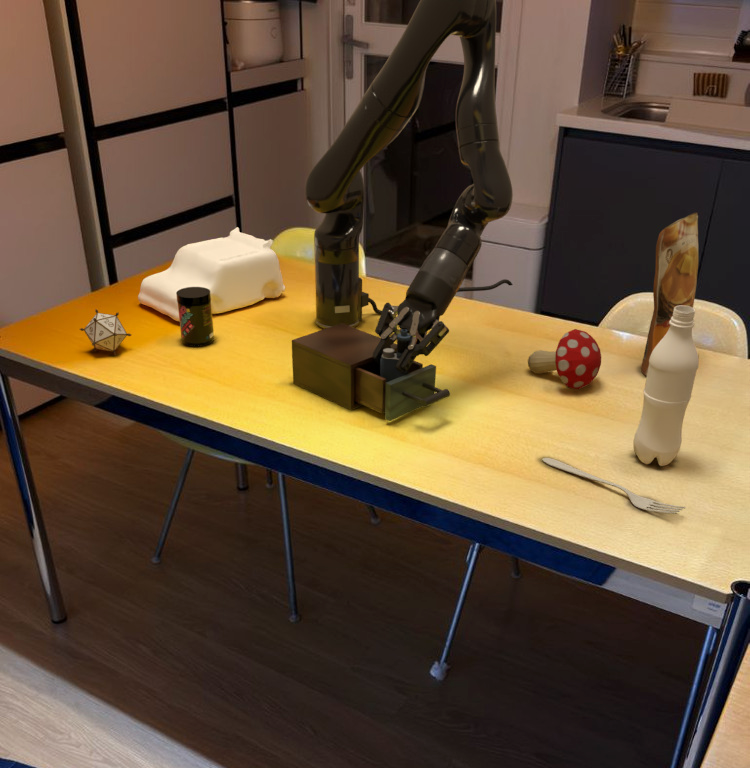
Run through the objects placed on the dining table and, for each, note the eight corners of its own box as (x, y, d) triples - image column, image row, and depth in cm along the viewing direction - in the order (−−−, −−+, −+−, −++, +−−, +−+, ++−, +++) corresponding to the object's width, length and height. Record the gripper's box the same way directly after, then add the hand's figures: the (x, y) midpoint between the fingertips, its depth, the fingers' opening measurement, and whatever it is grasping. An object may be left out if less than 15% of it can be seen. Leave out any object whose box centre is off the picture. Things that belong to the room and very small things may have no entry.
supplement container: (186, 334, 184) (181, 286, 179) (218, 335, 184) (213, 287, 178) (177, 346, 178) (172, 297, 173) (210, 348, 178) (206, 298, 172)
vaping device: (407, 398, 153) (410, 333, 147) (378, 395, 154) (379, 331, 148) (410, 392, 155) (412, 328, 149) (381, 389, 156) (382, 325, 150)
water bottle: (624, 448, 144) (652, 301, 131) (667, 447, 145) (698, 300, 131) (639, 470, 138) (669, 318, 125) (683, 468, 139) (718, 317, 125)
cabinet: (400, 389, 162) (401, 345, 158) (350, 410, 155) (350, 365, 150) (342, 364, 172) (342, 322, 167) (293, 383, 164) (291, 340, 160)
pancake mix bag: (621, 371, 171) (646, 225, 156) (669, 345, 182) (697, 207, 167) (652, 382, 167) (681, 233, 152) (699, 354, 178) (731, 214, 164)
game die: (120, 366, 179) (146, 327, 176) (95, 366, 171) (122, 326, 168) (90, 337, 180) (115, 298, 177) (63, 337, 172) (89, 296, 169)
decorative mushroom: (517, 325, 167) (584, 318, 156) (551, 344, 175) (618, 338, 163) (507, 381, 166) (573, 378, 155) (541, 398, 173) (607, 396, 162)
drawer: (458, 411, 153) (461, 375, 149) (414, 432, 146) (415, 395, 142) (376, 377, 165) (377, 342, 161) (332, 394, 158) (331, 359, 154)
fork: (549, 455, 142) (550, 446, 141) (684, 516, 127) (687, 506, 126) (536, 462, 140) (538, 452, 139) (673, 524, 125) (675, 514, 124)
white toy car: (291, 297, 205) (289, 239, 198) (180, 328, 187) (173, 265, 180) (243, 277, 216) (239, 222, 209) (134, 304, 199) (126, 245, 192)
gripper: (478, 303, 150) (428, 388, 149) (416, 283, 159) (368, 364, 158) (460, 280, 144) (407, 368, 143) (397, 260, 153) (347, 344, 152)
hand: (387, 365), depth 151 cm, fingers closed on vaping device, 5 cm apart
